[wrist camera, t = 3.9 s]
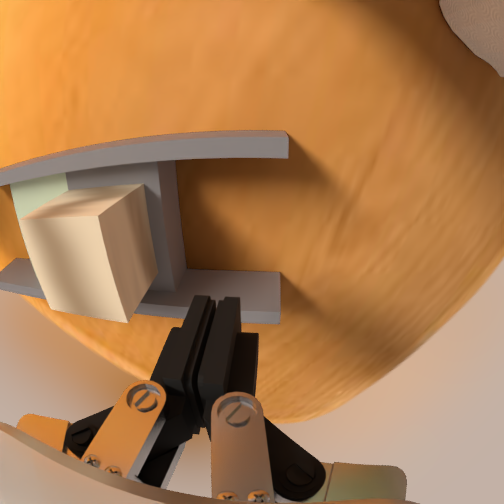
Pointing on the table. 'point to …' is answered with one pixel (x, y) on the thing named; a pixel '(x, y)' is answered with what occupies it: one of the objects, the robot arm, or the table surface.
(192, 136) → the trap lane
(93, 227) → the maple block
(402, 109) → the table surface
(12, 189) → the pad
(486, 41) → the paper towel roll
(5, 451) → the robot arm
